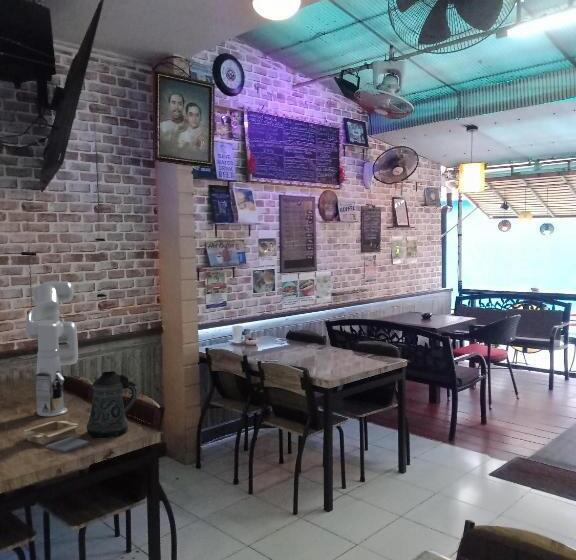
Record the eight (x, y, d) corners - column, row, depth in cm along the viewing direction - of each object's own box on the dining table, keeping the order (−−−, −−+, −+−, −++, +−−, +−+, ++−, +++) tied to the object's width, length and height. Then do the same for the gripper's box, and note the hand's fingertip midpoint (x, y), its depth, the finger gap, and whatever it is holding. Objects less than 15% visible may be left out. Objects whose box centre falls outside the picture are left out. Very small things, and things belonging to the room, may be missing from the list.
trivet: (45, 447, 214) (45, 445, 214) (69, 439, 224) (69, 437, 224) (65, 452, 209) (65, 450, 209) (88, 443, 218) (88, 441, 218)
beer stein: (79, 433, 231) (77, 373, 230) (121, 422, 245) (119, 365, 244) (100, 442, 220) (98, 379, 218) (142, 430, 234) (141, 370, 233)
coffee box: (50, 407, 231) (49, 369, 230) (64, 408, 230) (63, 369, 229) (36, 414, 222) (35, 374, 221) (50, 415, 221) (49, 375, 220)
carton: (17, 441, 222) (17, 431, 222) (57, 428, 238) (57, 418, 238) (44, 447, 214) (44, 437, 214) (84, 433, 230) (83, 424, 230)
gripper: (26, 353, 226) (28, 396, 227) (55, 357, 217) (56, 402, 218) (42, 350, 232) (44, 391, 233) (71, 354, 224) (72, 397, 225)
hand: (50, 396), depth 226 cm, fingers closed on coffee box, 7 cm apart
